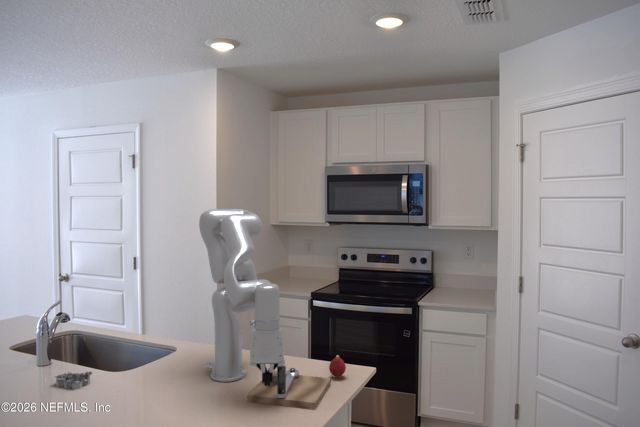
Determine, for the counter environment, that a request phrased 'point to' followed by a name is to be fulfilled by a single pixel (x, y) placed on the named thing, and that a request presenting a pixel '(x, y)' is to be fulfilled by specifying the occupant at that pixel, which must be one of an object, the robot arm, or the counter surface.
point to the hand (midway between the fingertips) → (267, 384)
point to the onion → (337, 367)
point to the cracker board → (292, 392)
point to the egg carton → (68, 381)
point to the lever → (285, 380)
